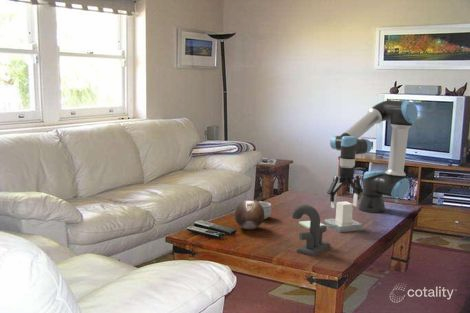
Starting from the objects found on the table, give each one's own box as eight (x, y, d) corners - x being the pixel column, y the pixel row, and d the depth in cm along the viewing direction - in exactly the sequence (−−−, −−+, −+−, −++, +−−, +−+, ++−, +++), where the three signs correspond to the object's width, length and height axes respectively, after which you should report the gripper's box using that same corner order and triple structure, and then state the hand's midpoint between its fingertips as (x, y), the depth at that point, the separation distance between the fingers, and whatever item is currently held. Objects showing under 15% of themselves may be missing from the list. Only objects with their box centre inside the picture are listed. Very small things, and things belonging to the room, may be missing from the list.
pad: (315, 221, 280) (315, 220, 280) (325, 227, 271) (325, 225, 271) (298, 223, 276) (298, 221, 276) (308, 228, 267) (308, 227, 267)
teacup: (269, 221, 279) (269, 207, 277) (249, 220, 281) (249, 205, 279) (272, 214, 292) (273, 200, 291) (253, 213, 294) (253, 199, 293)
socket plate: (346, 222, 281) (347, 216, 281) (362, 229, 268) (362, 224, 268) (324, 224, 276) (324, 219, 275) (339, 232, 263) (339, 226, 262)
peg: (344, 225, 276) (346, 201, 274) (351, 228, 270) (353, 204, 268) (335, 226, 274) (336, 202, 271) (341, 229, 268) (343, 204, 266)
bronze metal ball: (238, 233, 256) (239, 204, 254) (231, 225, 271) (231, 196, 268) (267, 232, 260) (268, 203, 257) (259, 223, 274) (260, 195, 272)
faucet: (300, 239, 251) (302, 198, 248) (330, 246, 242) (333, 204, 239) (281, 249, 236) (283, 206, 233) (313, 256, 228) (315, 212, 224)
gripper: (362, 164, 275) (359, 203, 278) (322, 166, 265) (319, 206, 269) (371, 167, 268) (368, 207, 271) (330, 168, 258) (327, 210, 262)
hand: (344, 207), depth 270 cm, fingers open, 13 cm apart
